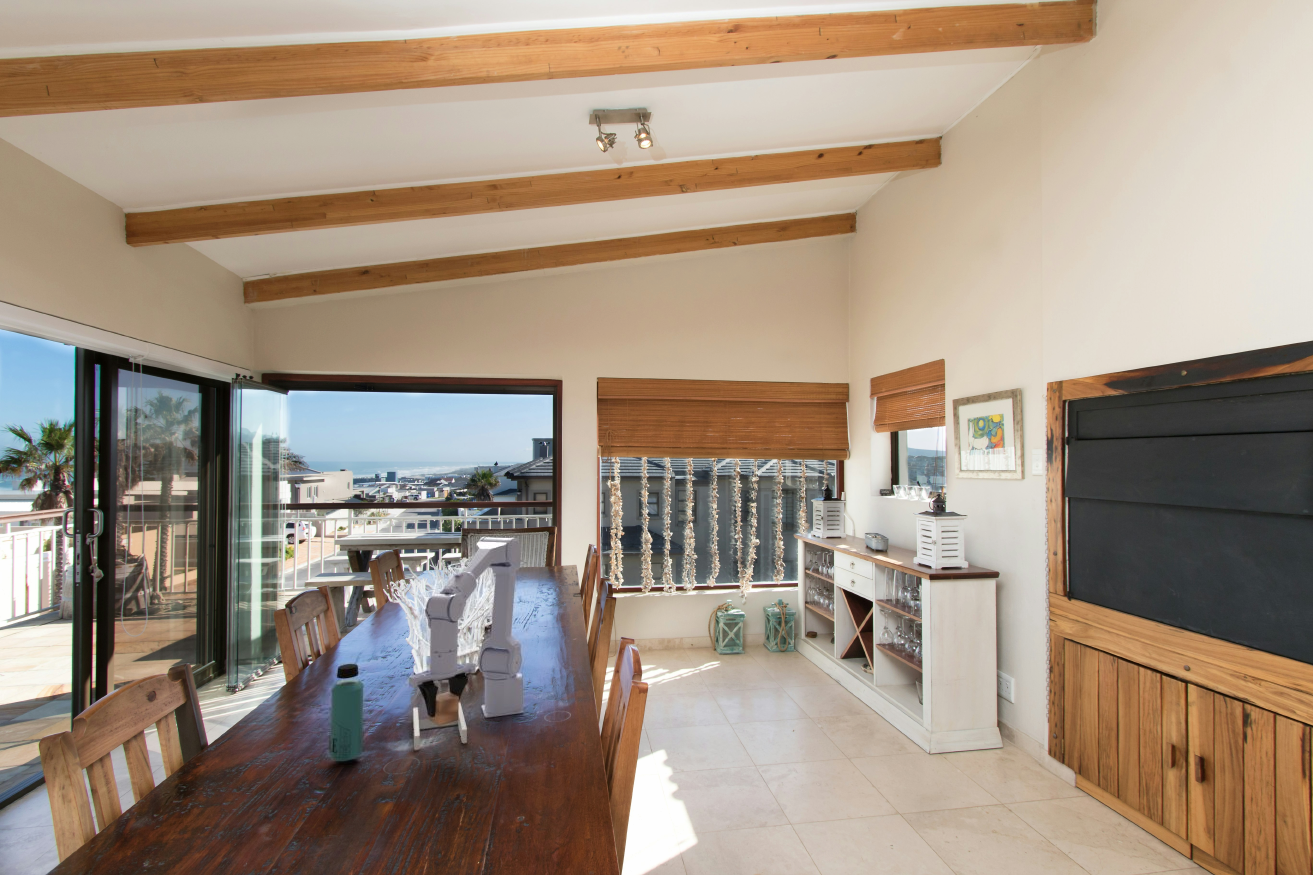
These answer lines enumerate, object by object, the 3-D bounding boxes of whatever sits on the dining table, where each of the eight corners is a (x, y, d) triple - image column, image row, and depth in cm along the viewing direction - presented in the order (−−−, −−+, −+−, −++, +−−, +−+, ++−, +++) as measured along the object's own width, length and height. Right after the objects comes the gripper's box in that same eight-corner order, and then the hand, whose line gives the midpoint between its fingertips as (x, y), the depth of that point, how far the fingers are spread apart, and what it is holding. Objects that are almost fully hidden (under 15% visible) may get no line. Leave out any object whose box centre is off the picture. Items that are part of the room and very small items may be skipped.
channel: (459, 714, 163) (460, 702, 163) (466, 742, 146) (466, 729, 146) (413, 720, 159) (413, 707, 159) (414, 750, 142) (414, 736, 142)
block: (448, 714, 144) (448, 691, 145) (458, 719, 141) (458, 696, 142) (429, 719, 141) (429, 696, 142) (438, 725, 138) (439, 701, 138)
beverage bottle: (370, 757, 138) (372, 662, 139) (345, 771, 132) (348, 671, 133) (345, 753, 141) (348, 659, 141) (320, 766, 134) (323, 667, 135)
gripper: (465, 639, 150) (464, 699, 150) (403, 651, 140) (401, 716, 140) (480, 645, 145) (479, 707, 145) (417, 658, 135) (416, 725, 135)
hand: (442, 712), depth 142 cm, fingers closed on block, 4 cm apart
